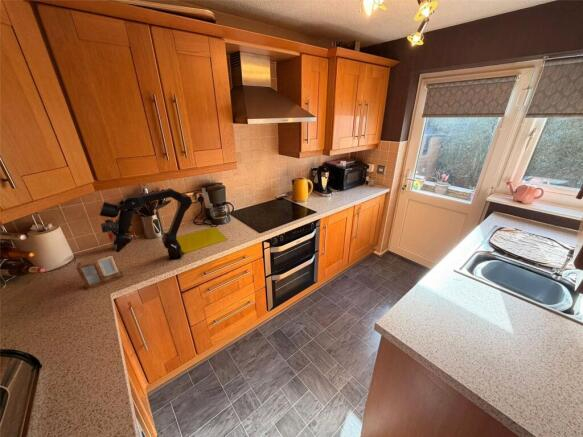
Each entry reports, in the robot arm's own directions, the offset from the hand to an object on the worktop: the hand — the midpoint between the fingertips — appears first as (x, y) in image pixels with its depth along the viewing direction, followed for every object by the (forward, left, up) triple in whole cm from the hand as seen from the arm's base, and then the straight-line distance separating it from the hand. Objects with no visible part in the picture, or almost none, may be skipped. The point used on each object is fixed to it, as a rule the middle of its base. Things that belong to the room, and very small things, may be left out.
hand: (116, 248), depth 116 cm
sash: (+6, +2, -14) cm, 16 cm away
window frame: (+8, +5, -16) cm, 19 cm away
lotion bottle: (+19, -27, -16) cm, 36 cm away
